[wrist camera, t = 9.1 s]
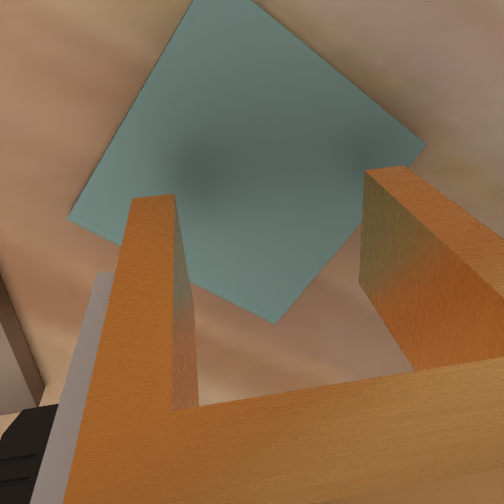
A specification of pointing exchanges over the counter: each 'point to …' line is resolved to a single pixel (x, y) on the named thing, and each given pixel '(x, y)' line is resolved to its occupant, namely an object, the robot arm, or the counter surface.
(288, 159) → the mat
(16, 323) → the crossbar stand
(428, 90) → the counter surface
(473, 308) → the orange notched block
